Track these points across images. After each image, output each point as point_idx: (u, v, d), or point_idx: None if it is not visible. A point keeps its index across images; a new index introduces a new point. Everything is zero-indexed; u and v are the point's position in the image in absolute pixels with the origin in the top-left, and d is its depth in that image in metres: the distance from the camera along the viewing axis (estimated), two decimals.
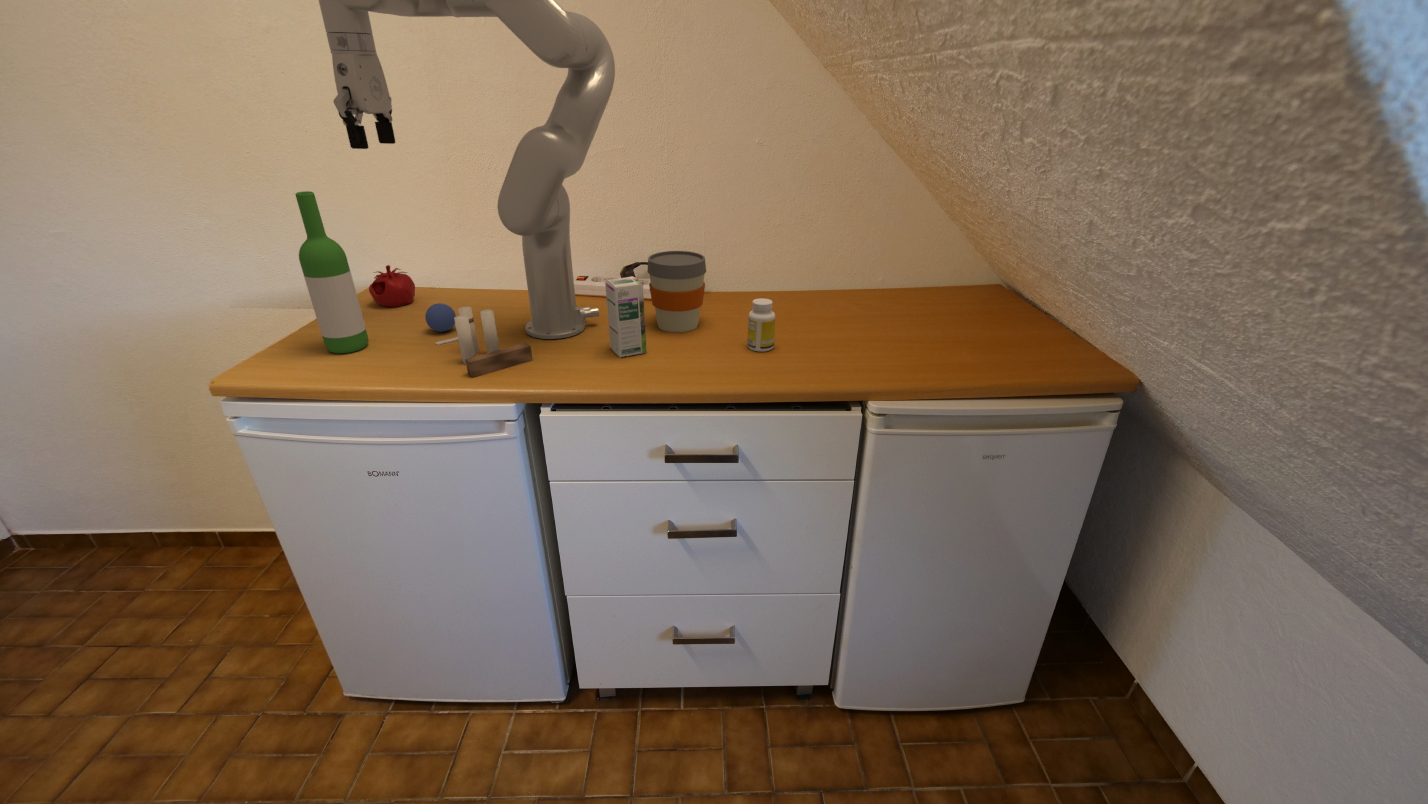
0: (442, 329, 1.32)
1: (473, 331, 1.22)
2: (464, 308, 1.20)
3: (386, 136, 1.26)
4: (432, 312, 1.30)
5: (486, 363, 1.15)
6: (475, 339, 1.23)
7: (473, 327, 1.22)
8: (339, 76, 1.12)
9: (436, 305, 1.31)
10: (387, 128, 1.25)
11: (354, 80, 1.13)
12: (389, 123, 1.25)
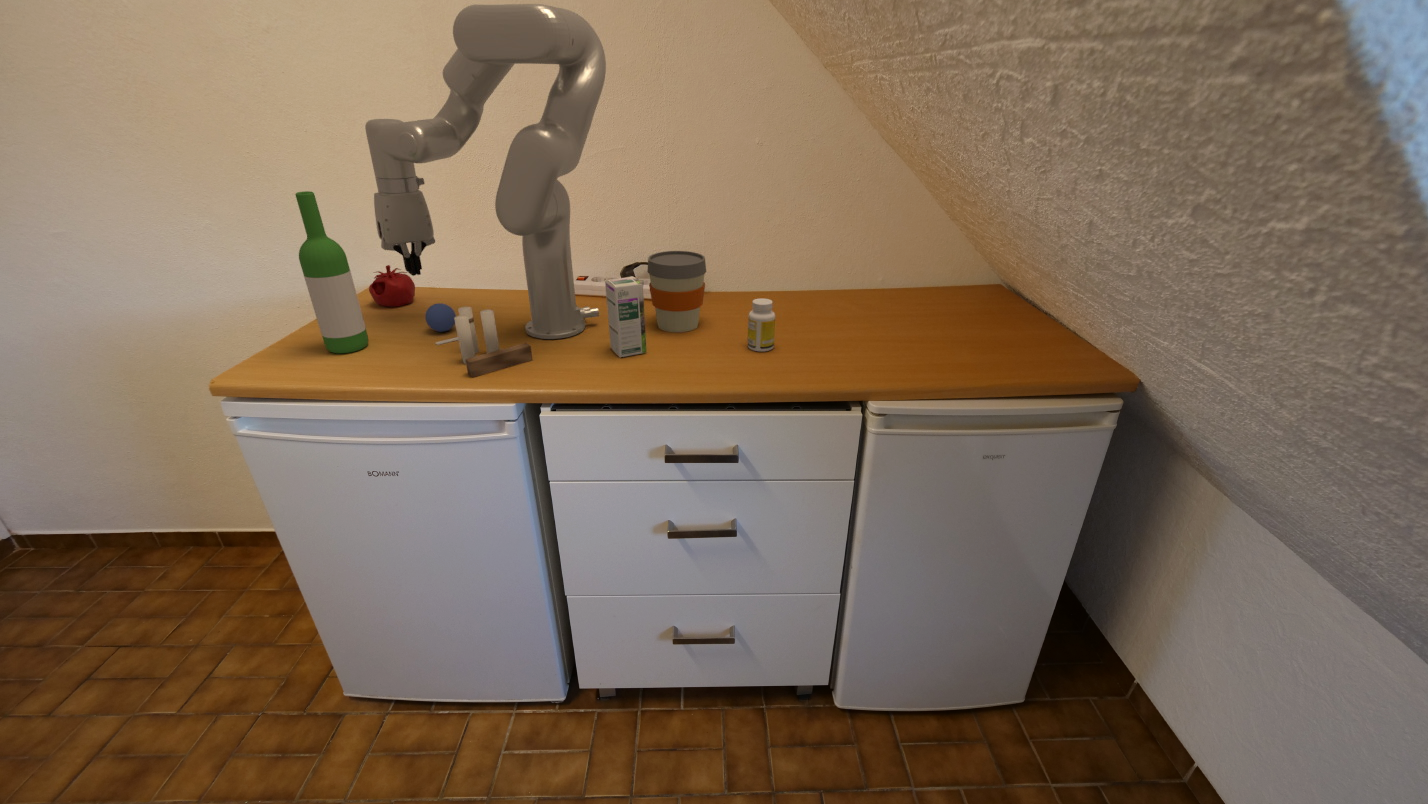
0: (442, 329, 1.32)
1: (473, 331, 1.22)
2: (464, 308, 1.20)
3: None
4: (432, 312, 1.30)
5: (486, 363, 1.15)
6: (475, 339, 1.23)
7: (473, 327, 1.22)
8: (427, 209, 1.32)
9: (436, 305, 1.31)
10: None
11: None
12: None
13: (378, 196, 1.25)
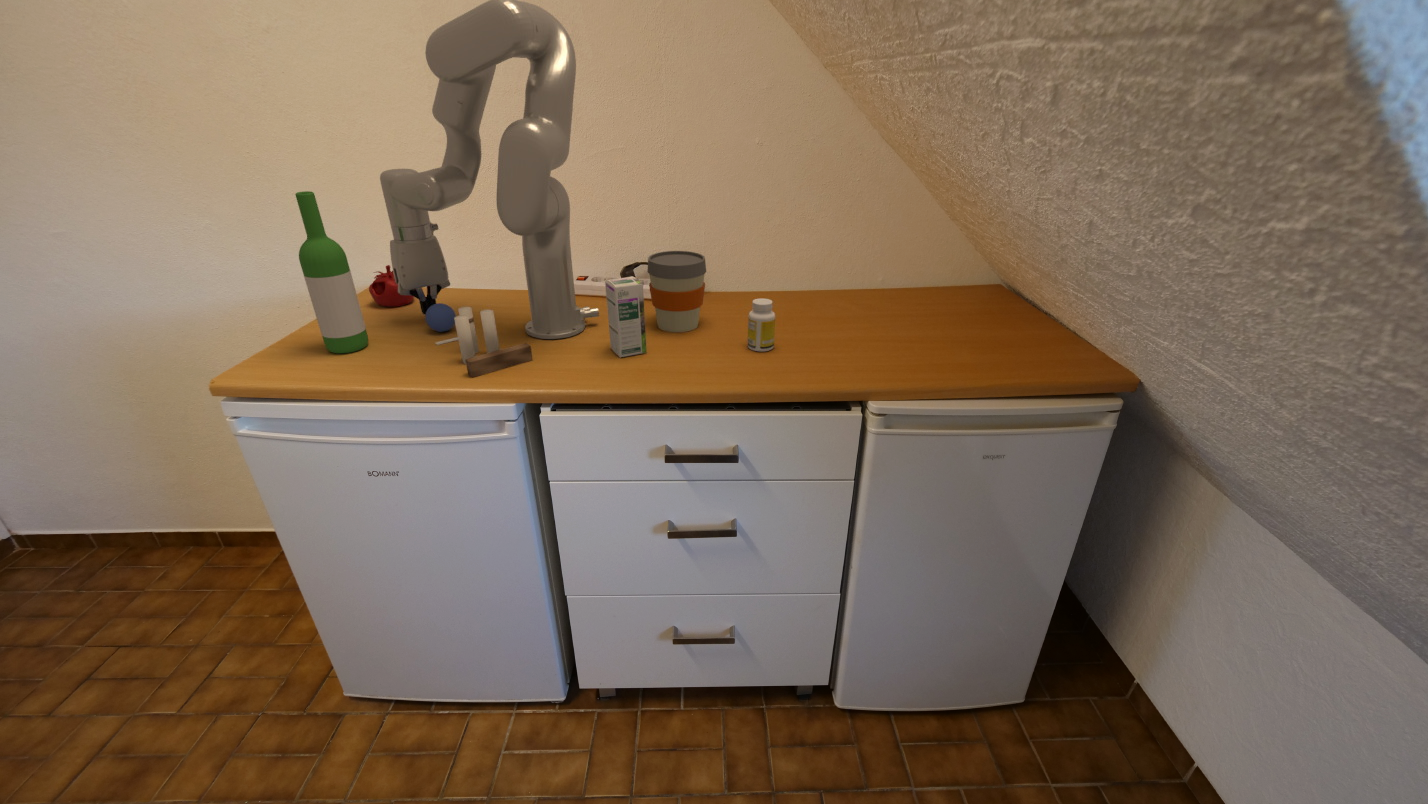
0: (442, 329, 1.32)
1: (473, 331, 1.22)
2: (464, 308, 1.20)
3: None
4: (432, 312, 1.30)
5: (486, 363, 1.15)
6: (475, 339, 1.23)
7: (473, 327, 1.22)
8: None
9: (436, 305, 1.31)
10: None
11: None
12: None
13: (394, 244, 1.28)
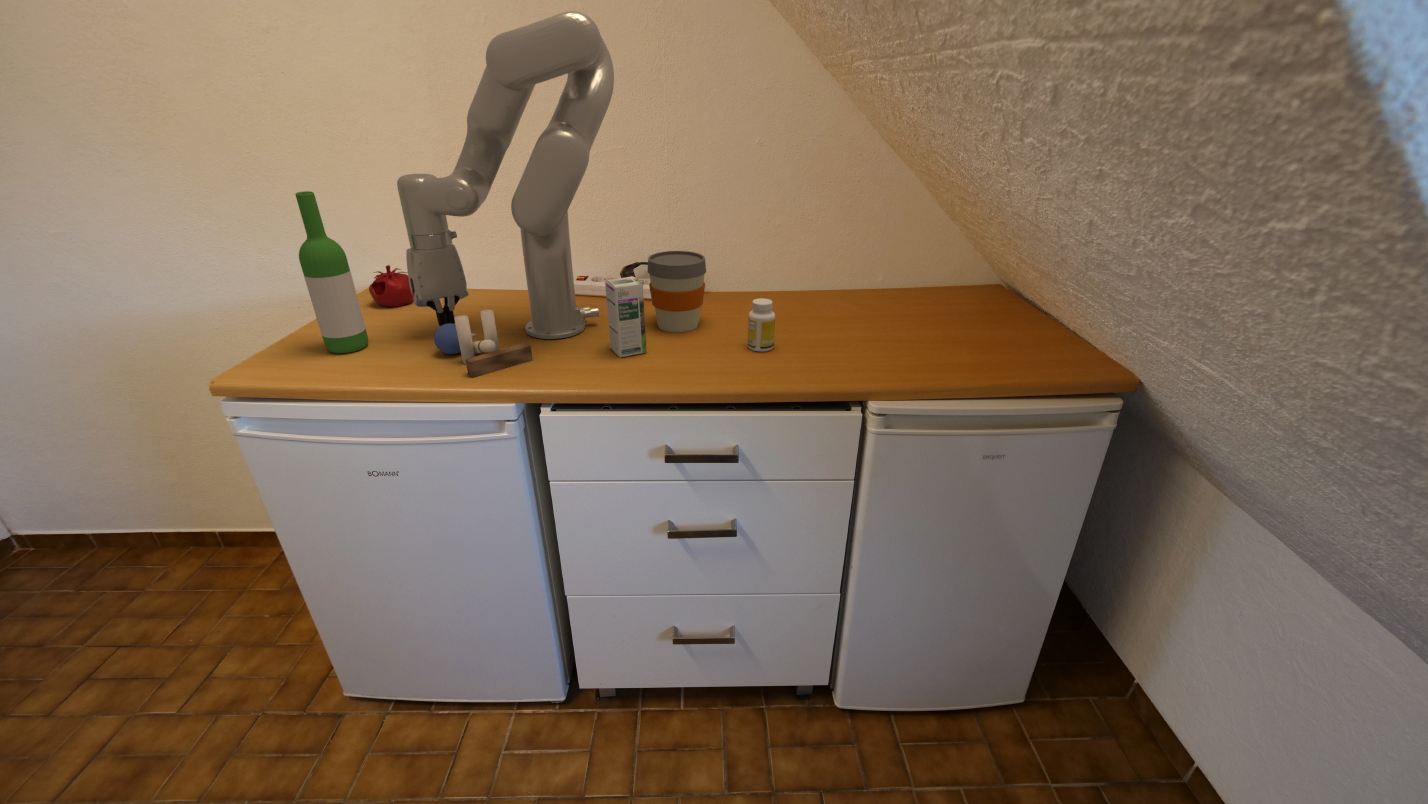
0: (438, 331, 1.20)
1: None
2: (488, 345, 1.16)
3: None
4: None
5: (486, 363, 1.15)
6: None
7: None
8: None
9: None
10: None
11: None
12: None
13: (411, 253, 1.21)
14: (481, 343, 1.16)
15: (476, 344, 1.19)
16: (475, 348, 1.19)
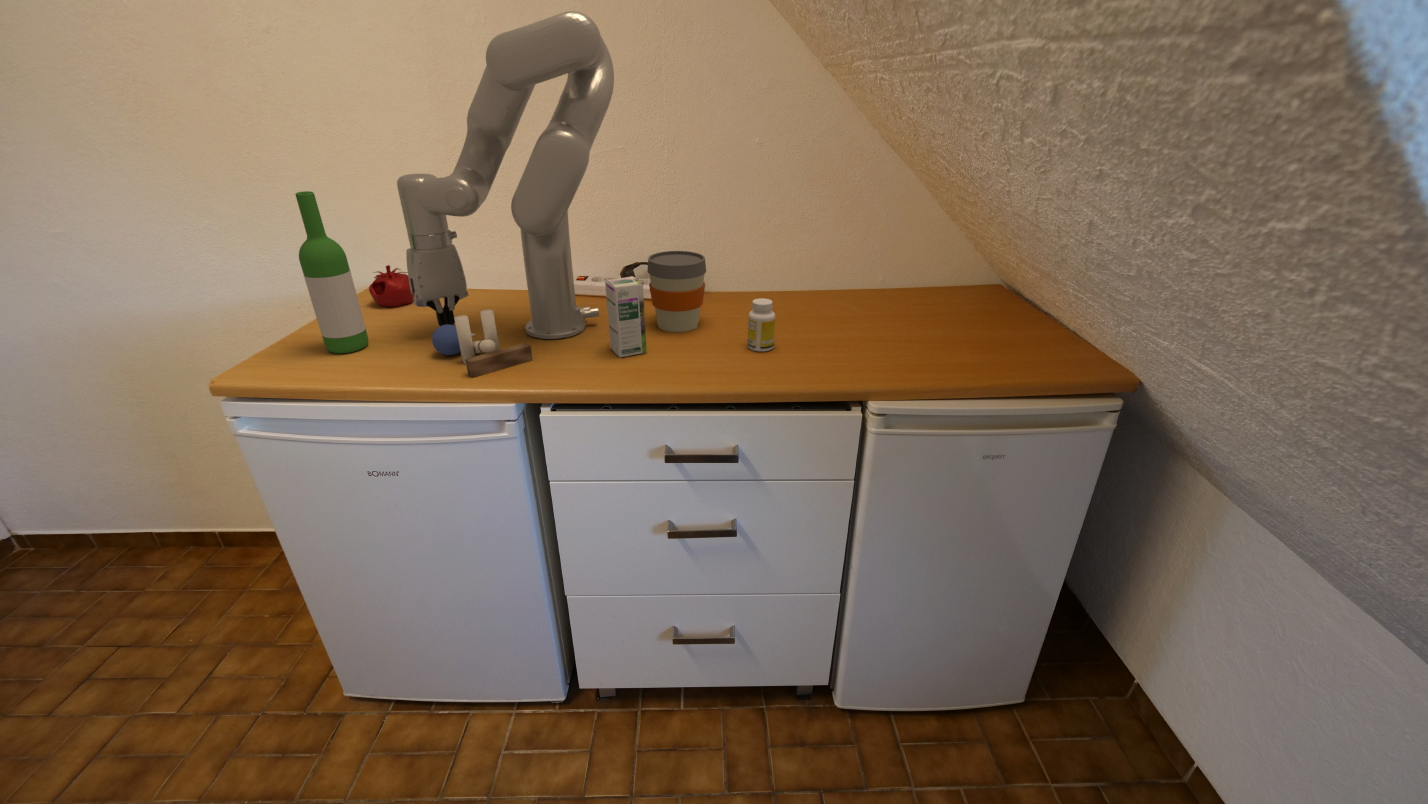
0: (435, 335, 1.19)
1: None
2: (488, 345, 1.16)
3: None
4: None
5: (486, 363, 1.15)
6: None
7: None
8: None
9: None
10: None
11: None
12: None
13: (411, 253, 1.21)
14: (481, 343, 1.16)
15: (476, 344, 1.19)
16: (475, 348, 1.19)
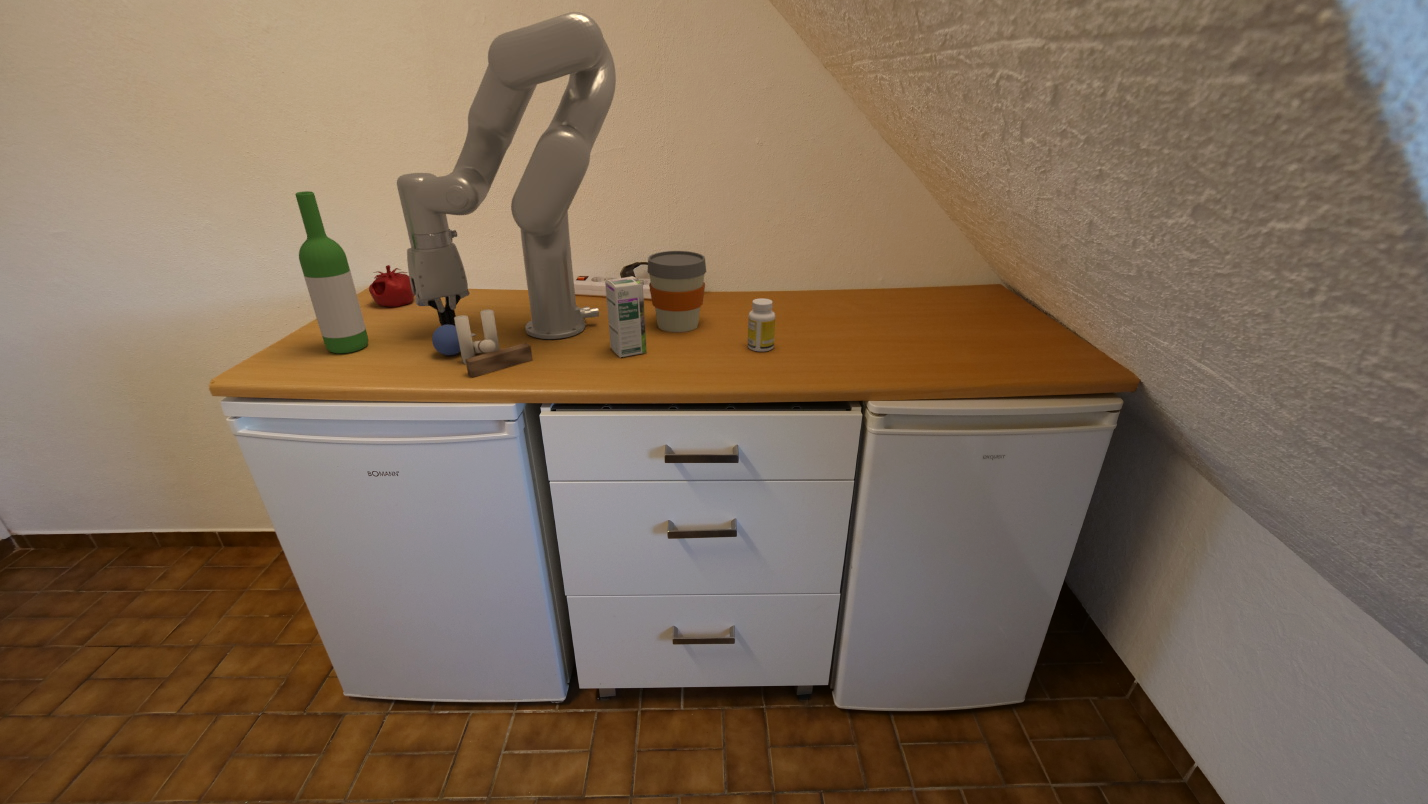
0: (435, 335, 1.19)
1: None
2: (488, 345, 1.16)
3: None
4: None
5: (486, 363, 1.15)
6: None
7: None
8: None
9: None
10: None
11: None
12: None
13: (411, 252, 1.21)
14: (481, 343, 1.16)
15: (476, 344, 1.19)
16: (475, 348, 1.19)
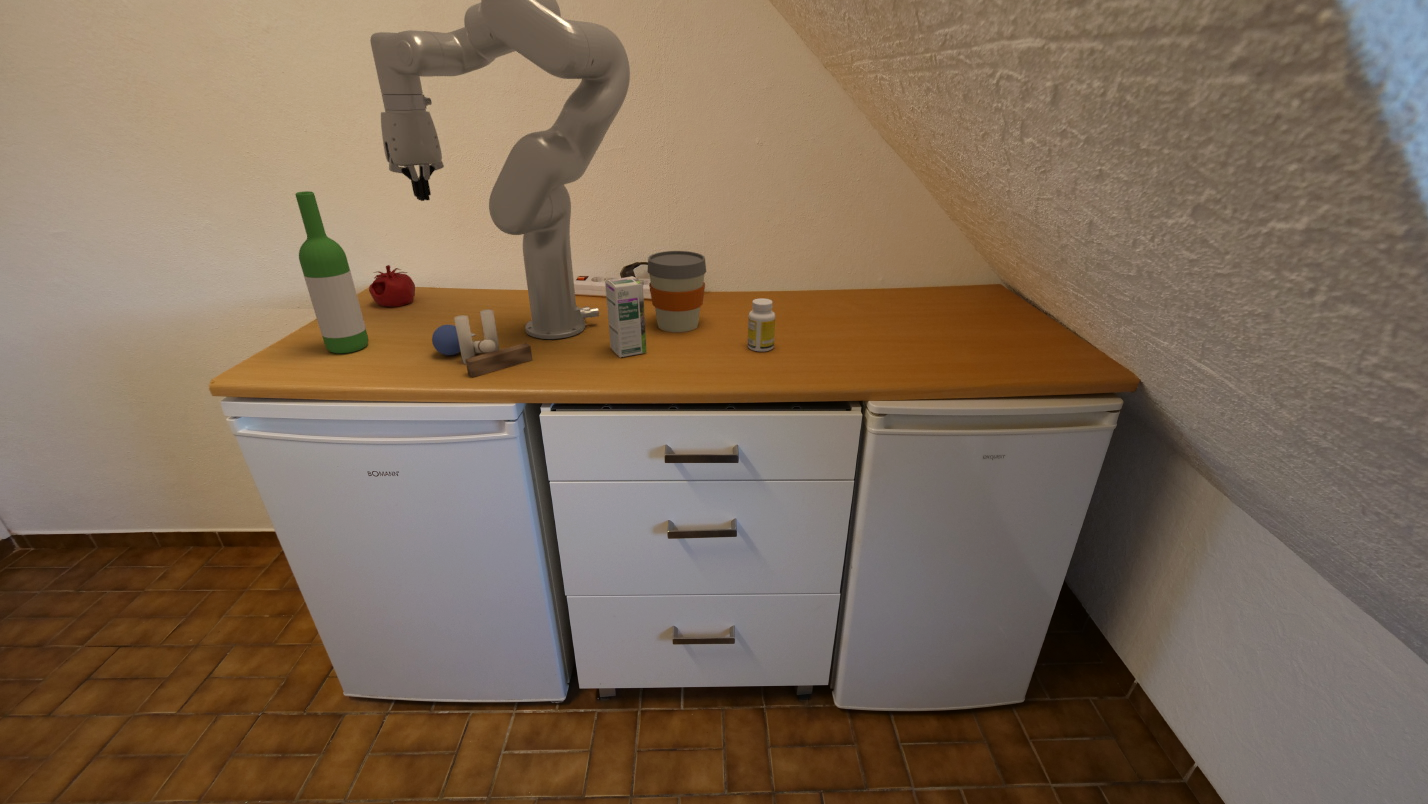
0: (435, 335, 1.19)
1: None
2: (488, 345, 1.16)
3: None
4: None
5: (486, 363, 1.15)
6: None
7: None
8: None
9: None
10: None
11: None
12: None
13: (385, 114, 1.22)
14: (481, 343, 1.16)
15: (476, 344, 1.19)
16: (475, 348, 1.19)
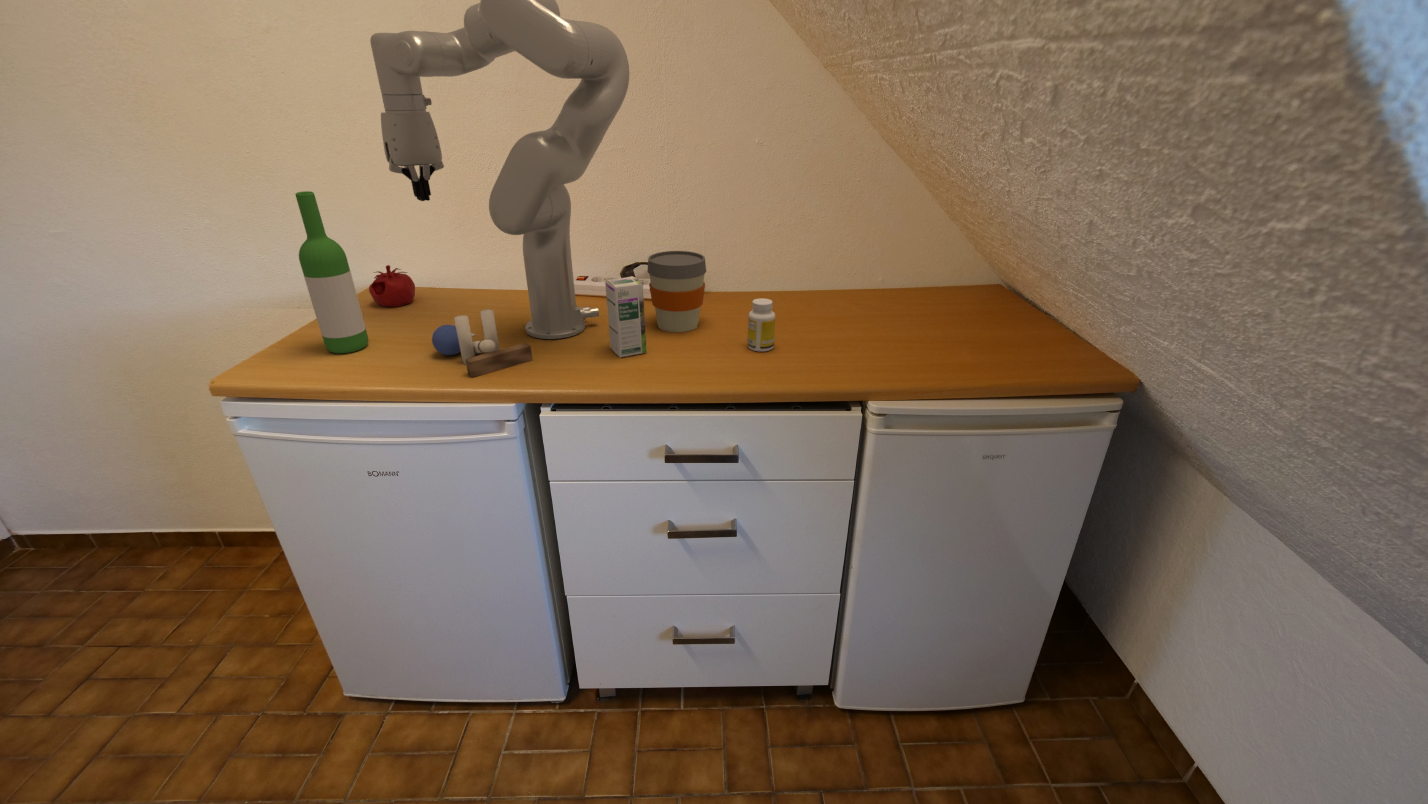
0: (435, 335, 1.19)
1: None
2: (488, 345, 1.16)
3: None
4: None
5: (486, 363, 1.15)
6: None
7: None
8: (435, 131, 1.29)
9: None
10: None
11: None
12: None
13: (385, 114, 1.22)
14: (481, 343, 1.16)
15: (476, 344, 1.19)
16: (475, 348, 1.19)
